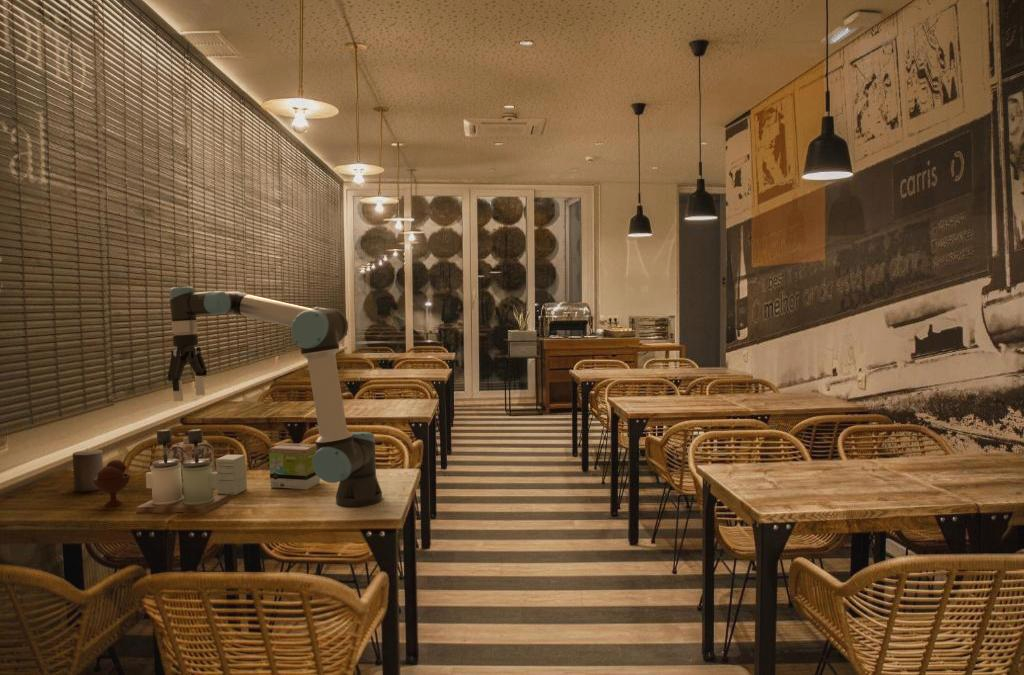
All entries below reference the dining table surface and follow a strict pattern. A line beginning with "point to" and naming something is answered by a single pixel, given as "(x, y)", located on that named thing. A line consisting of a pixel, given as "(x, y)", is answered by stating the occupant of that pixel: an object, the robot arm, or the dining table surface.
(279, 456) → the tea box
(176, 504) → the walnut board
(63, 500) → the dining table surface
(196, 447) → the sage plunger
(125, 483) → the ice cream bowl
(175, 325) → the robot arm
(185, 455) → the decorative jar
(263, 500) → the dining table surface
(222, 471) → the supplement box
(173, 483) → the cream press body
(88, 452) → the pillar candle
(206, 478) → the sage press body
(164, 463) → the cream press plunger
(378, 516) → the dining table surface
